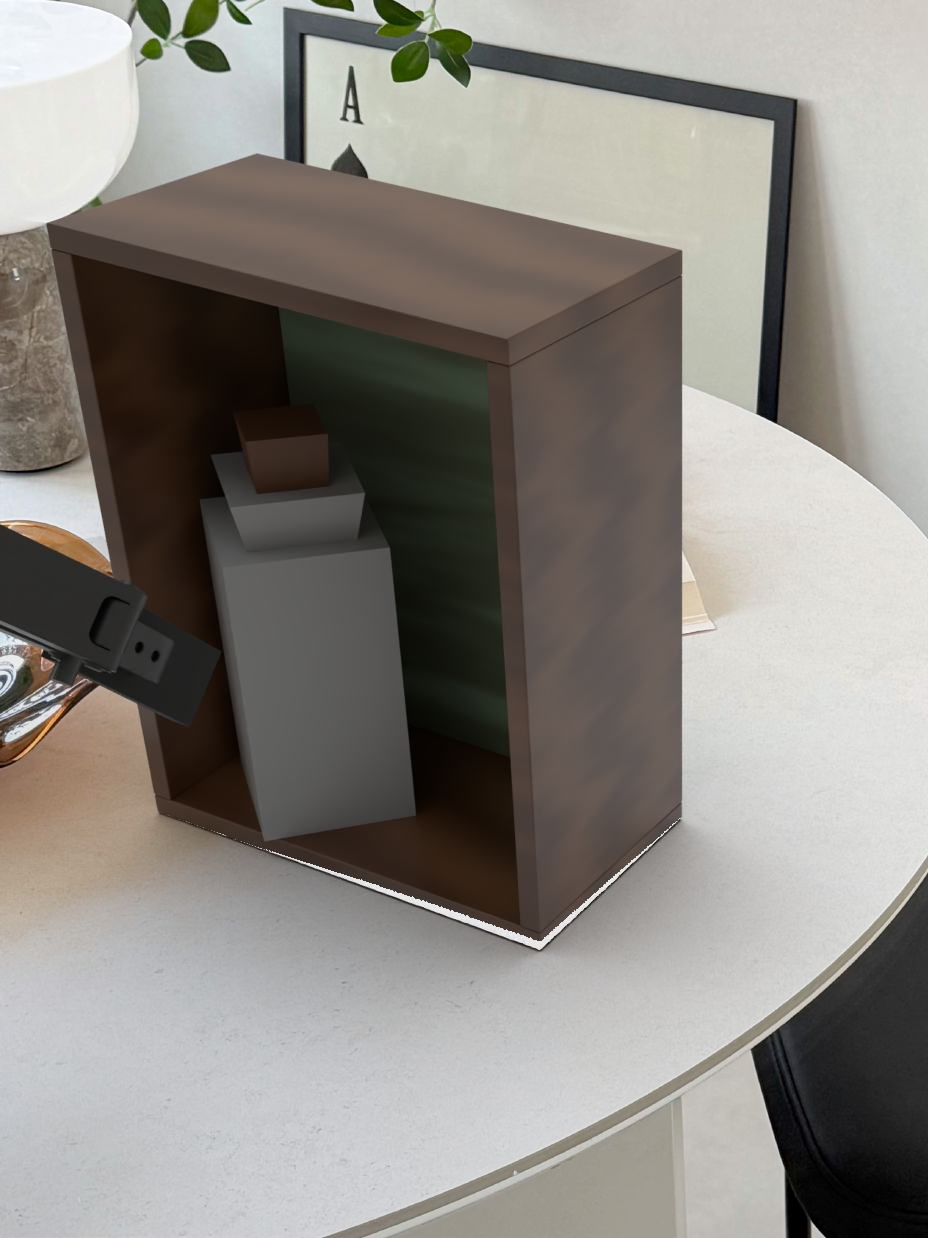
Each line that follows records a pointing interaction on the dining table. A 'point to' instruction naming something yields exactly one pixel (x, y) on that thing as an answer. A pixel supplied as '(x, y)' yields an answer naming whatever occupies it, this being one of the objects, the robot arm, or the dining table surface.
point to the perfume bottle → (307, 629)
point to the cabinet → (415, 499)
